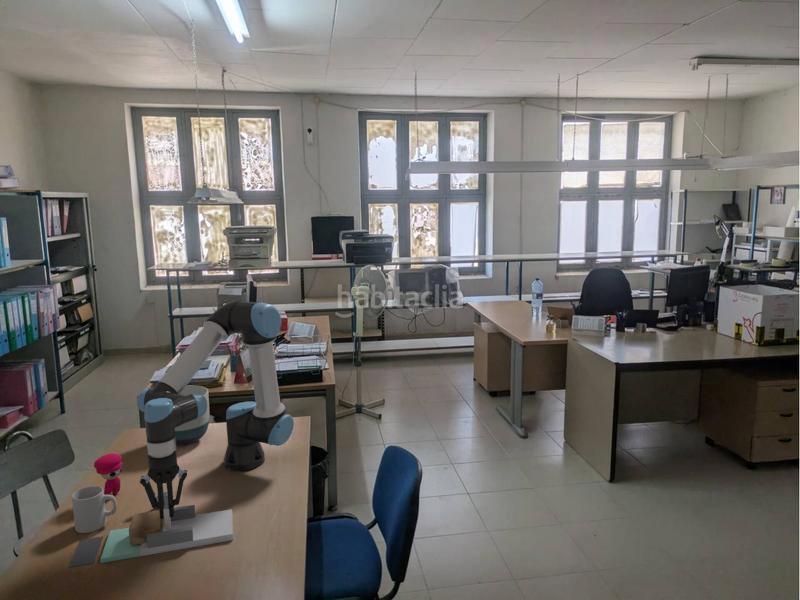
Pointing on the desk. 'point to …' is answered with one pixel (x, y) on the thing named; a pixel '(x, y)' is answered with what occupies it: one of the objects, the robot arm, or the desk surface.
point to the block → (144, 526)
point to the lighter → (164, 497)
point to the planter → (196, 427)
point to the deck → (190, 531)
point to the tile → (119, 546)
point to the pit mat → (86, 552)
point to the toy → (110, 472)
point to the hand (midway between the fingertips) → (168, 527)
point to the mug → (91, 509)
